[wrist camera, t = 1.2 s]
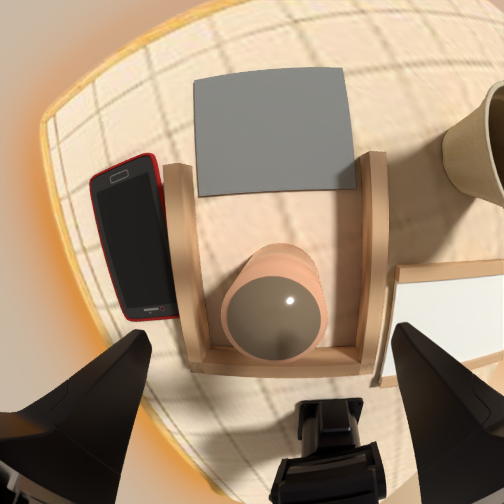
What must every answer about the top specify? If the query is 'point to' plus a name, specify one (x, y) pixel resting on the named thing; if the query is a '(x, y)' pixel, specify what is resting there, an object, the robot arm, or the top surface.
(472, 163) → the flower pot
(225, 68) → the top surface
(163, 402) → the top surface
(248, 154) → the mat
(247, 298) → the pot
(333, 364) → the wooden u-shaped frame
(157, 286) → the cell phone
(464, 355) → the wood framed whiteboard
